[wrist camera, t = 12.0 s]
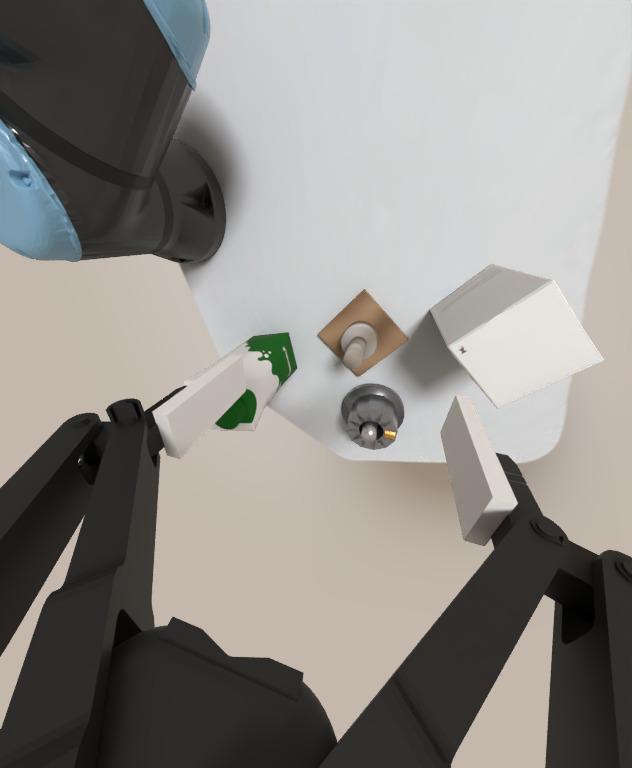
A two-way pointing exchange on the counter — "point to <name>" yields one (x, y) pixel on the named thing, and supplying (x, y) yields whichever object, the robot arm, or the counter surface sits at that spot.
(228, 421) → the milk carton
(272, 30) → the counter surface
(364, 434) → the disc
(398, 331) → the stand
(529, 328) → the supplement box
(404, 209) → the counter surface
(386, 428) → the clutch ring
